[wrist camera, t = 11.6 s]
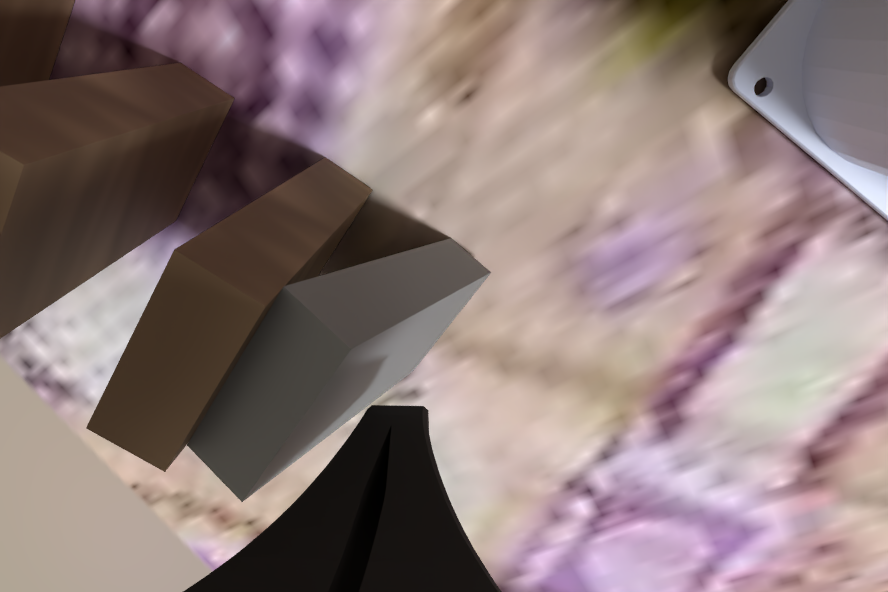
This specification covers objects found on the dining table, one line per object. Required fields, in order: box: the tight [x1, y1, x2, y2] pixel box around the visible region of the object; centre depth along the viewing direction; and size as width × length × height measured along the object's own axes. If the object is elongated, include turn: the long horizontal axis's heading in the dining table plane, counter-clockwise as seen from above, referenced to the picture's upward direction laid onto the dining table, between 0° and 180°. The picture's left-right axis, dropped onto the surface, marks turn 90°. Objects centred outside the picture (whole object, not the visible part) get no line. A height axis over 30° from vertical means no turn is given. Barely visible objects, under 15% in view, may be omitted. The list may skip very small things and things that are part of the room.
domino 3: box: [187, 238, 491, 502], centre depth 15 cm, size 2×5×9 cm, turn 146°
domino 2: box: [86, 158, 372, 472], centre depth 15 cm, size 2×5×9 cm, turn 146°
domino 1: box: [0, 63, 234, 338], centre depth 14 cm, size 2×5×9 cm, turn 146°
